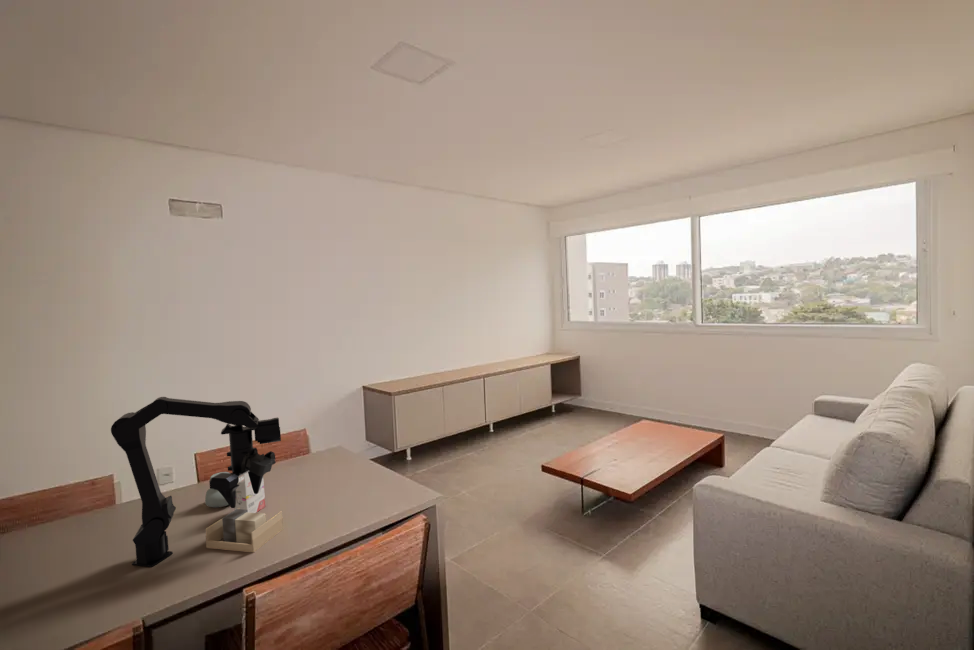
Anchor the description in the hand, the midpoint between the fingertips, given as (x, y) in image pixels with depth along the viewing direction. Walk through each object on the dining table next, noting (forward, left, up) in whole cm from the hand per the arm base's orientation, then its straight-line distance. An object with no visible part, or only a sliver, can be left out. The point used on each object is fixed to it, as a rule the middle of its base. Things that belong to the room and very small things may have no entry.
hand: (245, 500), depth 132 cm
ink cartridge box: (+15, +11, -11) cm, 21 cm away
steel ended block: (0, 0, -11) cm, 11 cm away
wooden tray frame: (0, 0, -11) cm, 11 cm away
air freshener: (+19, +25, -11) cm, 33 cm away
